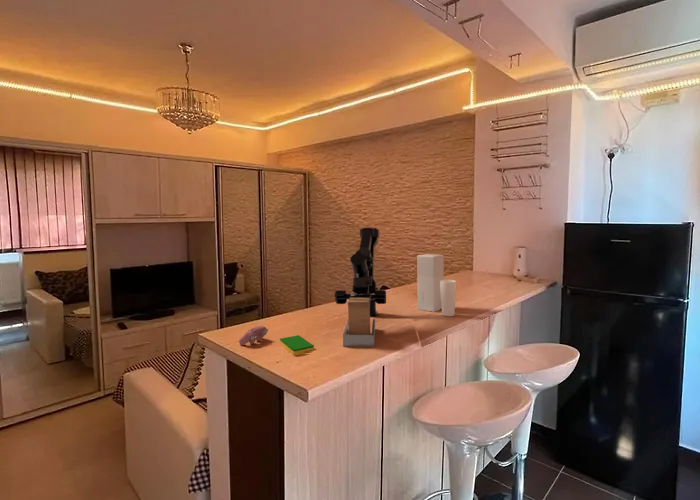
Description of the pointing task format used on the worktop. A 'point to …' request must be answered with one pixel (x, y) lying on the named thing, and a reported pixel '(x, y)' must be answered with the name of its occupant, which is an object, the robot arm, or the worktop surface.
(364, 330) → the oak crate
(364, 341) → the metal bay
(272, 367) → the worktop surface
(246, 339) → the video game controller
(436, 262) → the tall white carton
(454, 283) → the drinking glass
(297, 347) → the dish sponge
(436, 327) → the worktop surface
